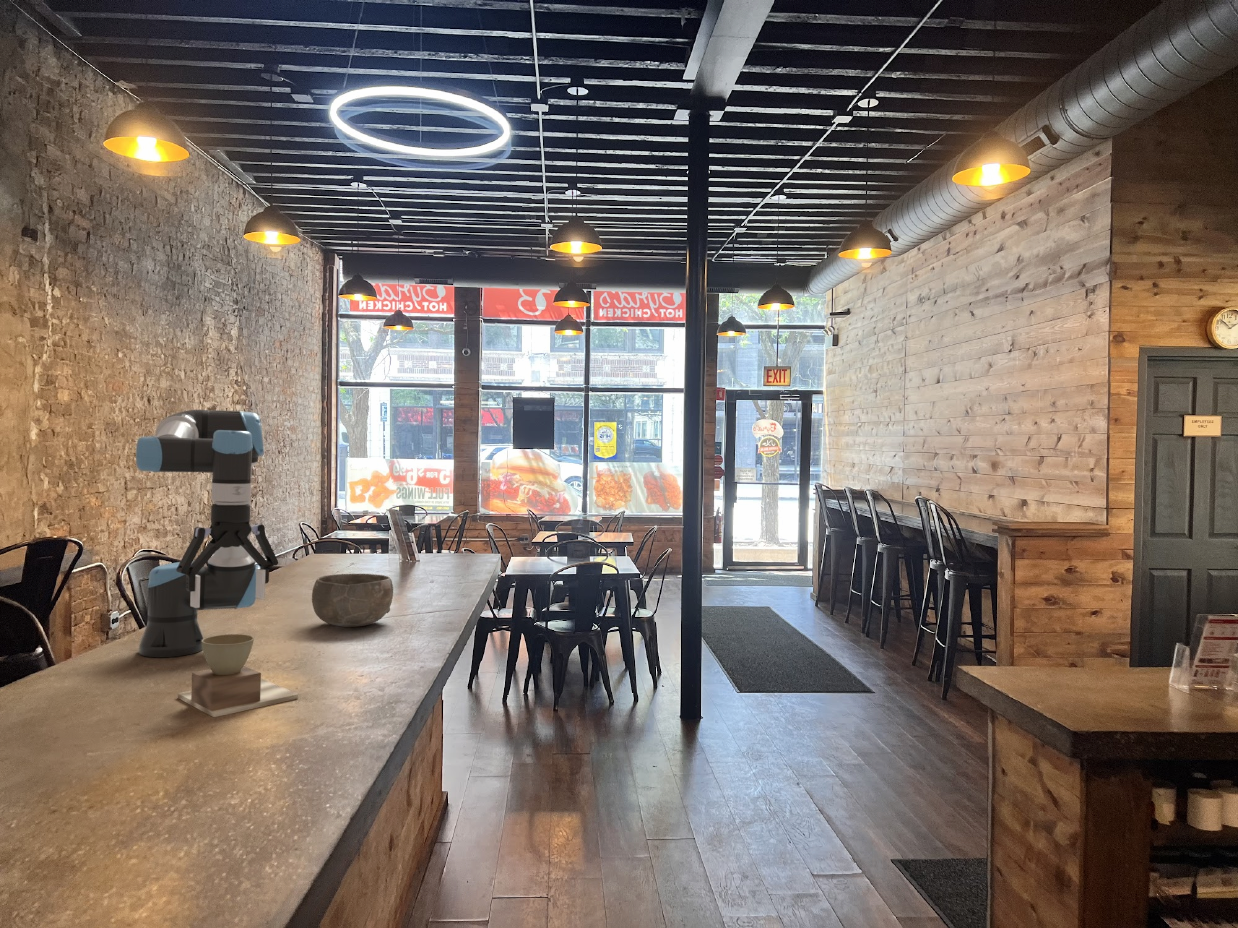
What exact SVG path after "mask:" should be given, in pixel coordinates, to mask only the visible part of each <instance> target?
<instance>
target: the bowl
mask: <svg viewBox="0 0 1238 928" xmlns="http://www.w3.org/2000/svg"><path fill="white" fill-rule="evenodd" d="M393 597H394V584H393V580H392V578H391V577H390V576H388V575H383V574H376V573H375V574H373V573H341V574H330V575H329V574H328V575H323V576H320V577H317V579H316V580H315V582H314V584H313V587H312V592H311V602H312V608H313V610H314V611H313V612H314V613H315V615H316V616H317V617H318V618H319V619H320V620H321V621H322V622H324V623H326V624H329V625H331V626H336V627H342V628H343V627H344V628H345V627H348V628H349V627H350V628H351V627H363V626H368V625H371V624H375V623H377V622H378V621H380V620H382V619H383V617H384V616H386V614H389V613H390V611H391V605H392V603H393Z"/></svg>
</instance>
